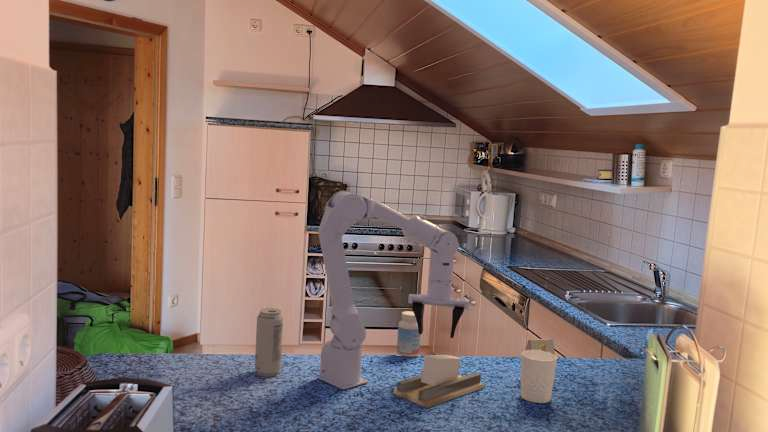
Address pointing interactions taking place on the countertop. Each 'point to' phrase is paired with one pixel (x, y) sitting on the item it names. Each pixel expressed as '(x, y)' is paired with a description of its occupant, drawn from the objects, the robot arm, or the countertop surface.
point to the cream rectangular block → (440, 369)
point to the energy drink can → (268, 342)
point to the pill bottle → (408, 335)
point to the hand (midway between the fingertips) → (436, 335)
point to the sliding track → (437, 389)
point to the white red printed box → (541, 345)
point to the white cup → (537, 375)
